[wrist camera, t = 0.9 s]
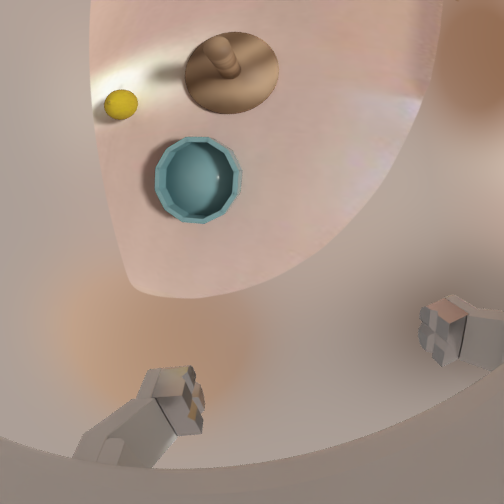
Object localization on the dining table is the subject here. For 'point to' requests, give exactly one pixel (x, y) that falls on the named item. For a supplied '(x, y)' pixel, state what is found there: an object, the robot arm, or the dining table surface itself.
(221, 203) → the bowl
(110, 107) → the lemon
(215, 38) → the lid
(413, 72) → the dining table surface
